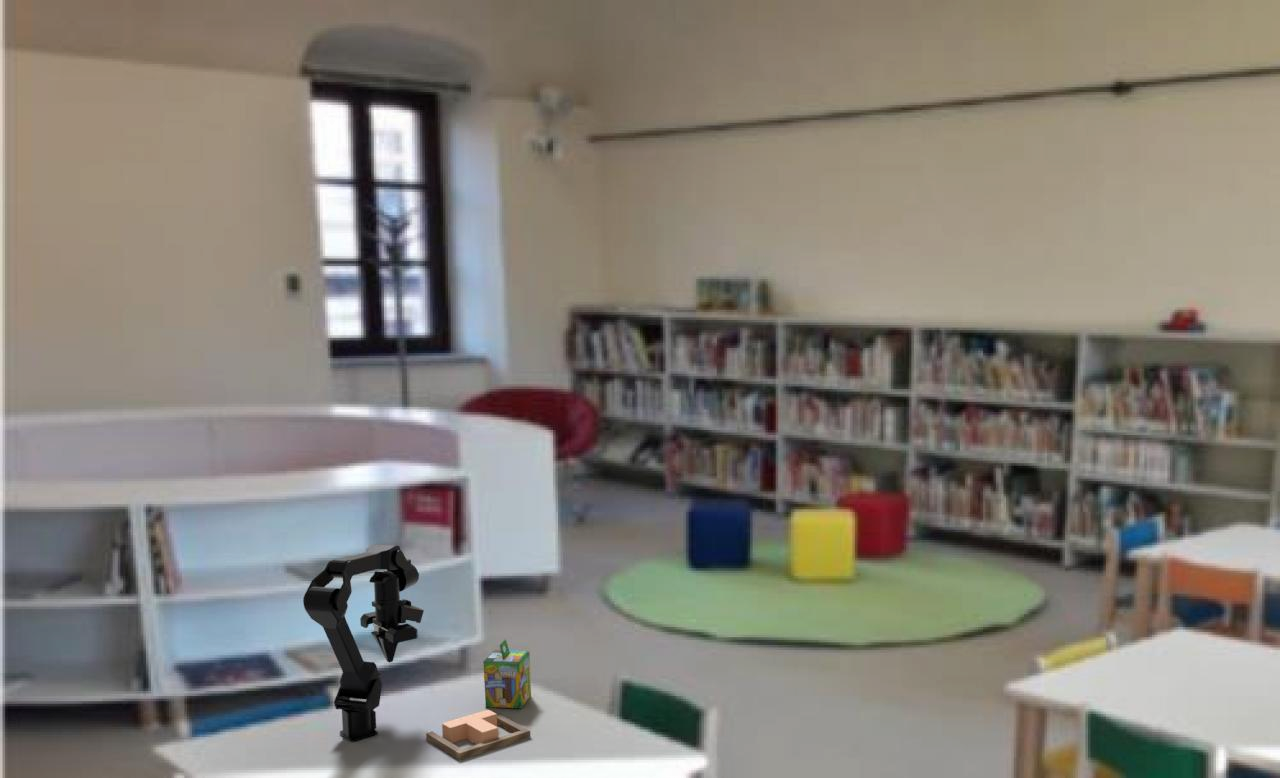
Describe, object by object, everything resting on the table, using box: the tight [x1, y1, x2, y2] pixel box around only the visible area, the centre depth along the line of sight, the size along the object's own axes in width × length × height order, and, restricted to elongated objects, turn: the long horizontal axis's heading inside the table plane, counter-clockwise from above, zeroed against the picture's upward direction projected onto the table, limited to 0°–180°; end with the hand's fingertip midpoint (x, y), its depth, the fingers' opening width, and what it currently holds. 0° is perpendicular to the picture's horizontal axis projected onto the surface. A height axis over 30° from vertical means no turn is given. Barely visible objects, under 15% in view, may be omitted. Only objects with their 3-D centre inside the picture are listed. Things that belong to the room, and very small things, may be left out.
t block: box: [441, 709, 499, 745], centre depth 249 cm, size 12×10×4 cm
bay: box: [425, 711, 531, 761], centre depth 249 cm, size 18×14×2 cm
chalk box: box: [482, 639, 532, 709], centre depth 270 cm, size 9×9×15 cm
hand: (389, 661), depth 266 cm, fingers closed
